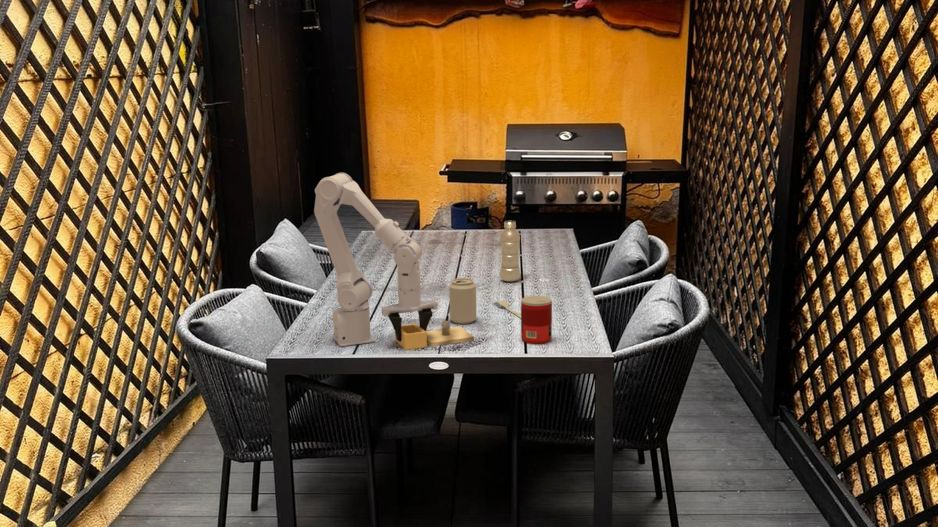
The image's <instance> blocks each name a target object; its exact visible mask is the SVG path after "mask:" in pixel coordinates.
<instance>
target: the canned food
mask: <svg viewBox="0 0 938 527" xmlns="http://www.w3.org/2000/svg"><path fill="white" fill-rule="evenodd" d="M520 314H521V318H520V325H521V326H520V338H521V340H522V342H523V343H526V344H529V343H530V345H544V344H548V343H549V342H551V340H552V336H553V335H552V334H553V333H552V332H553V331H552V326H553V324H552V322H553V318H552V317H553V316H552V315H553V301H552V298H550V297H548V296H545V295H544V296H541V295H530V296H526V297H523V298H521V301H520ZM547 342H548V343H547Z"/></svg>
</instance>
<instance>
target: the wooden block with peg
mask: <svg viewBox="0 0 938 527" xmlns="http://www.w3.org/2000/svg"><path fill="white" fill-rule="evenodd" d="M426 333H427V345H429V346H430V348H431V347H432V348H433V347H438V345H439V346H445V345H453V344H458V343H460V344H461V343H465V342H472V341H475V336H474V335H473V334H471V333H470V332H468V331H467V330H465V329H464V328H463V327H461V326H454V327H450V320H442V321H441V328H440V329H439V328H438V329H430V330H426Z"/></svg>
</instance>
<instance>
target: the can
mask: <svg viewBox="0 0 938 527" xmlns="http://www.w3.org/2000/svg"><path fill="white" fill-rule="evenodd" d="M448 290H449V292H448V293H449V294H448V295H449V297H448V298H449V320H451V321H452V322H453V324H454V323H455V324H458V325H468V324H471V323H473V322H474V321H475V320H476V319H477V285H476V283H475V282H474V279H472V278H469V277H457V278H454V279H452V280H451V283H450V284H449V287H448Z"/></svg>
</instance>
